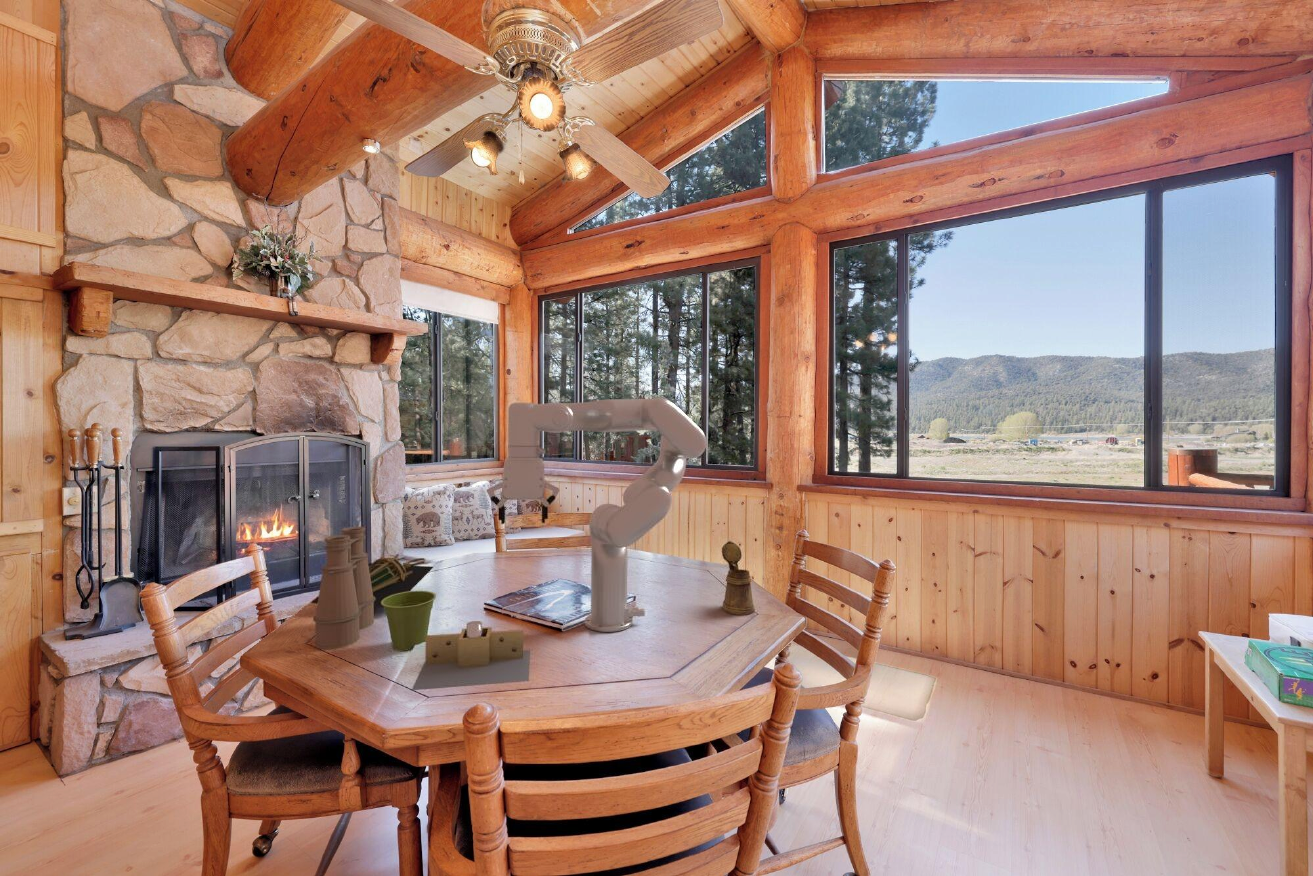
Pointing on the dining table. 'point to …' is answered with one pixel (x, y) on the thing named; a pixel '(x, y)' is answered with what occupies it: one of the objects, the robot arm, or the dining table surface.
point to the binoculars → (344, 591)
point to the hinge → (474, 647)
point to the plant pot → (408, 617)
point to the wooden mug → (737, 583)
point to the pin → (474, 629)
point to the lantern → (393, 577)
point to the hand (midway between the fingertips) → (523, 522)
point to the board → (473, 673)
